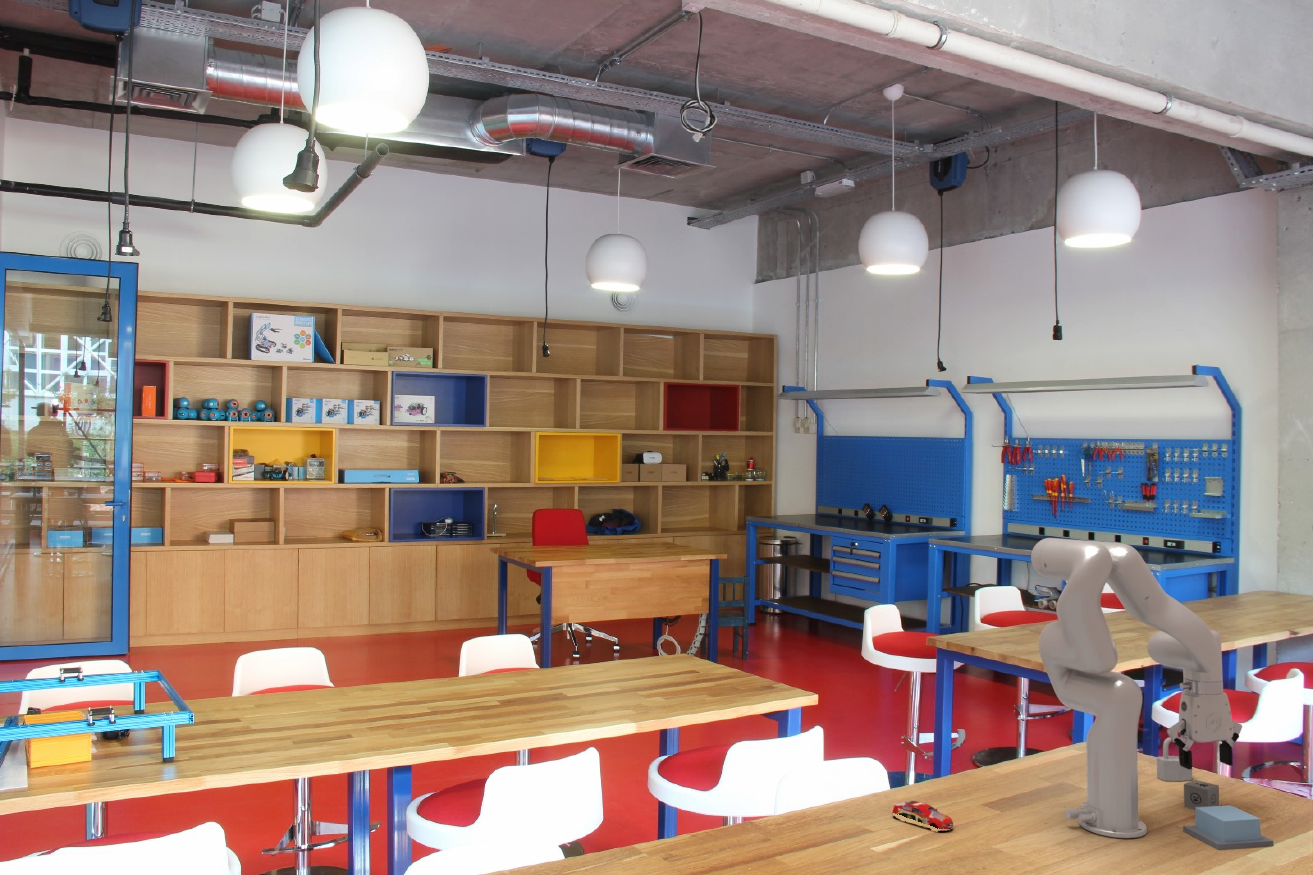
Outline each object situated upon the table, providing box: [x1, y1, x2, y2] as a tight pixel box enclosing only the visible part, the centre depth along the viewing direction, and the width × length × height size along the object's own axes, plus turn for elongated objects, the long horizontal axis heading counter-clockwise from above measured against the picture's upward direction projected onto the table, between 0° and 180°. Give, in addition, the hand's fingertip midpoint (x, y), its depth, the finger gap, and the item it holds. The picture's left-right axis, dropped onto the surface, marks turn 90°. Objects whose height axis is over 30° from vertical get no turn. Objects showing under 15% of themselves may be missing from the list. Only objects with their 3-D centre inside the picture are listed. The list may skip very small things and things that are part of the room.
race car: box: [892, 800, 954, 829], centre depth 209 cm, size 13×5×4 cm, turn 40°
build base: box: [1182, 804, 1275, 851], centre depth 201 cm, size 12×10×5 cm
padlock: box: [1156, 736, 1193, 782], centre depth 239 cm, size 7×4×10 cm, turn 95°
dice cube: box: [1183, 779, 1220, 810], centre depth 219 cm, size 5×5×5 cm
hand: (1206, 765), depth 219 cm, fingers open, 9 cm apart
